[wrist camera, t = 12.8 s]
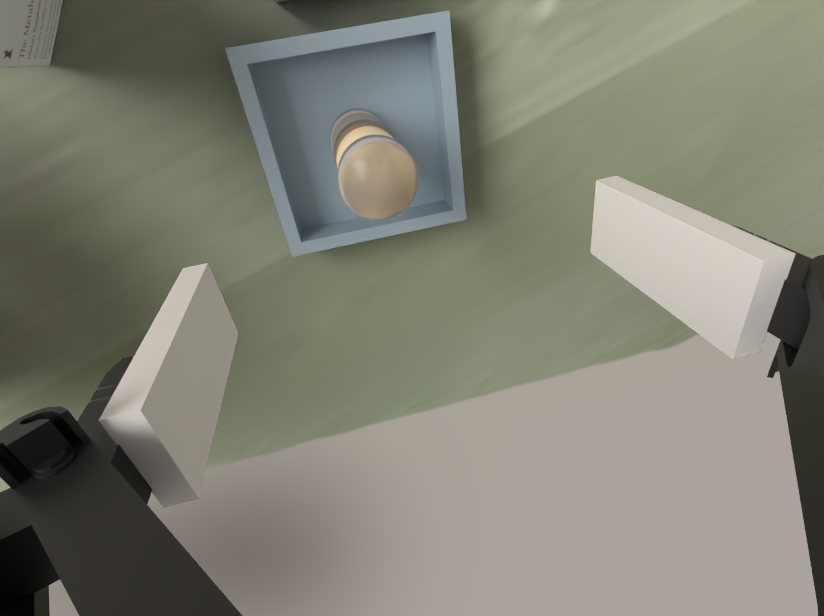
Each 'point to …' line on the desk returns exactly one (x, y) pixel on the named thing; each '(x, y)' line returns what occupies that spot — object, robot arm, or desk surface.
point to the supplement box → (28, 32)
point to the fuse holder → (281, 1)
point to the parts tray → (344, 90)
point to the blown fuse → (372, 166)
